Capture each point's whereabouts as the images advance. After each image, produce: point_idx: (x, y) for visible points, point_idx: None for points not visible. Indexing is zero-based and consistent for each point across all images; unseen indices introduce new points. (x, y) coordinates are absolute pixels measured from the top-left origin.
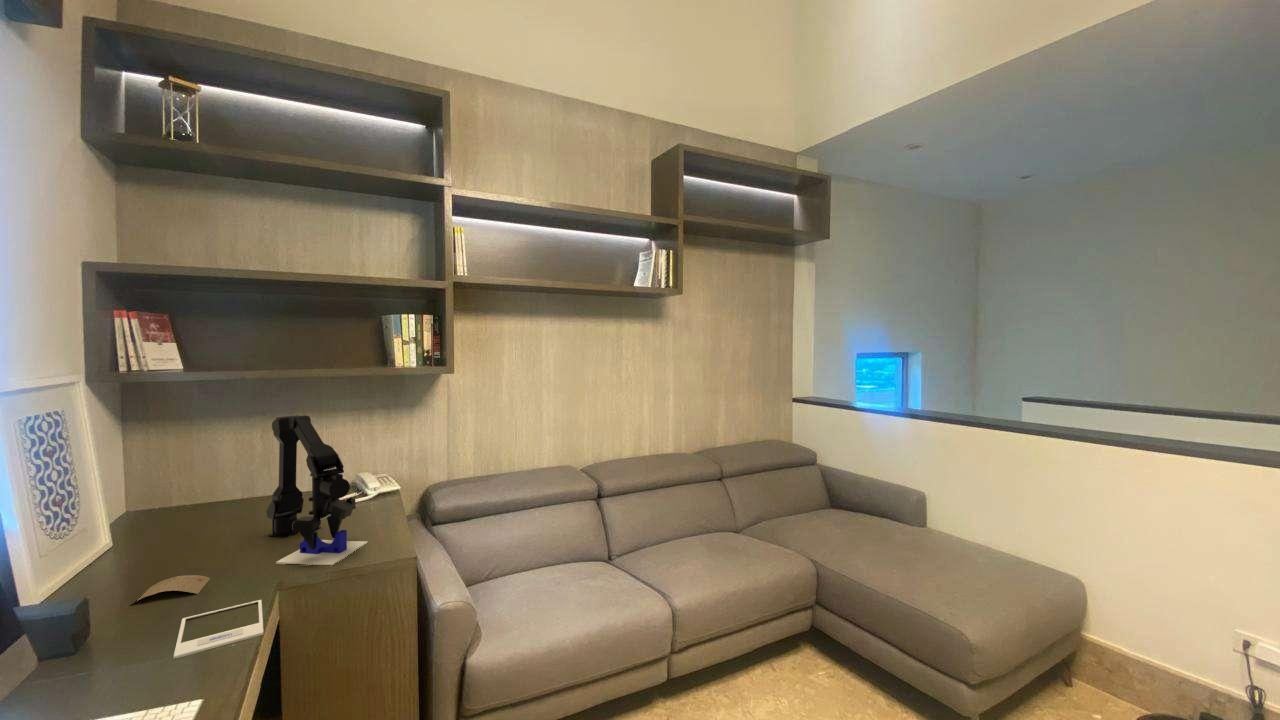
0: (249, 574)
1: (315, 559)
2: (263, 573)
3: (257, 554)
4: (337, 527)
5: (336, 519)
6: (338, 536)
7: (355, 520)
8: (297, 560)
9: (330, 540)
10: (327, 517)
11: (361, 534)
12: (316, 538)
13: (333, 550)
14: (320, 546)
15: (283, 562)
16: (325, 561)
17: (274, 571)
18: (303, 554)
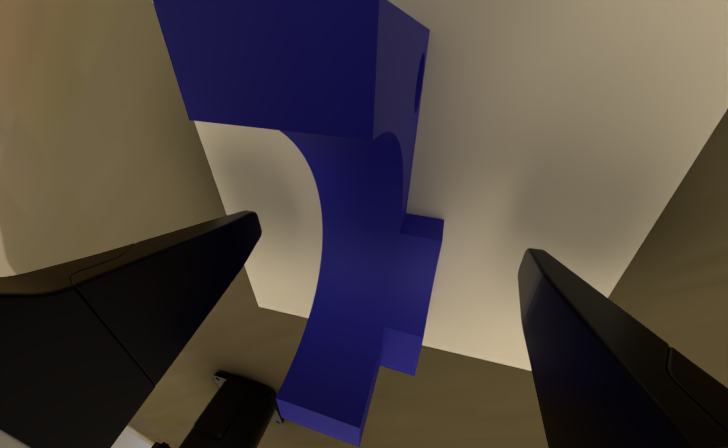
0: None
1: (571, 180)
2: None
3: (420, 424)
4: (167, 250)
5: (62, 340)
6: (394, 37)
7: (66, 256)
8: None
9: None
10: (112, 433)
11: (105, 140)
12: (605, 336)
13: (416, 112)
14: (387, 247)
15: None
16: (682, 32)
17: (706, 346)
18: (446, 296)
